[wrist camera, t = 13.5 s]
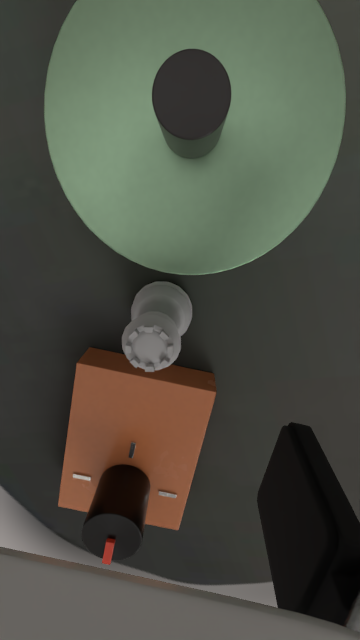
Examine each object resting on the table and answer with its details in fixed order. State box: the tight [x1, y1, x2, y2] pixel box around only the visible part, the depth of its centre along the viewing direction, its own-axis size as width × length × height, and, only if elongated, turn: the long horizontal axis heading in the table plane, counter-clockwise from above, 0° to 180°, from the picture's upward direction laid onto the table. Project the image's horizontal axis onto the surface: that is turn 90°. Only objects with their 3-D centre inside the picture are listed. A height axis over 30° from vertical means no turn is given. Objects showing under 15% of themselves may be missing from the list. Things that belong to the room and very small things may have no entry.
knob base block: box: [58, 347, 216, 530], centre depth 27 cm, size 14×10×3 cm
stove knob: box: [81, 464, 150, 565], centre depth 24 cm, size 4×4×5 cm
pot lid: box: [44, 0, 346, 275], centre depth 12 cm, size 12×12×5 cm
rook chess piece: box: [122, 282, 192, 372], centre depth 21 cm, size 4×4×8 cm
